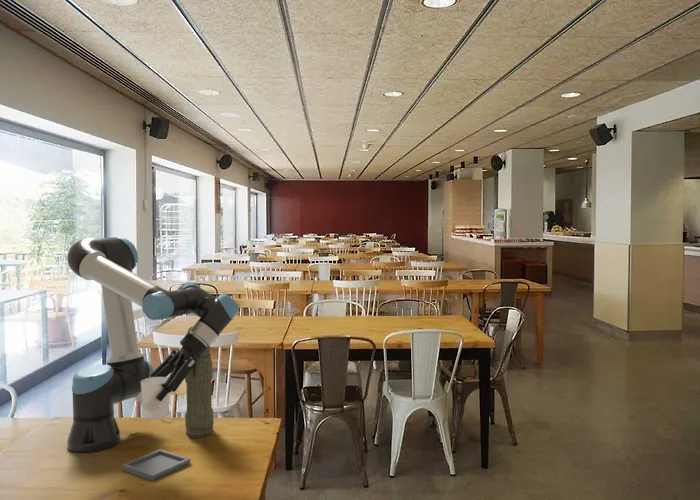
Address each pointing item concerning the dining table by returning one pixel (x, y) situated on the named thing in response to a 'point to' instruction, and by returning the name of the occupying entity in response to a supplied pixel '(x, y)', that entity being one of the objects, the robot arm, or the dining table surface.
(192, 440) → the dining table surface
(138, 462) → the charcoal tray
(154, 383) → the white cup
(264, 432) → the dining table surface
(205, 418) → the thermos
